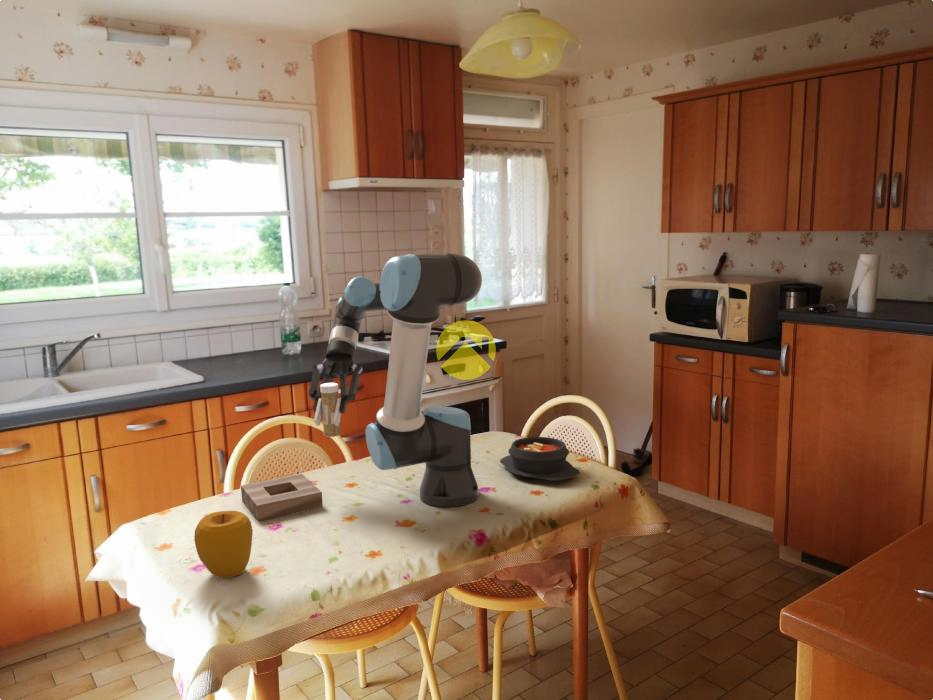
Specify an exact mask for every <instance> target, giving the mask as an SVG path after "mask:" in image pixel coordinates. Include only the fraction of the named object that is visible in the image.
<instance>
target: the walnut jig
mask: <svg viewBox="0 0 933 700" xmlns="http://www.w3.org/2000/svg"><path fill="white" fill-rule="evenodd" d="M240 494H241V501H242V502H243V504H244V505H245V507H246V508H247V509H248V510H249V512H250V513H251V514H252V516H253V517H254V518H255V520H256V521H257V522H261V521H263V522H264V521H266V520H270V519H275V518H280V516H281V517H285V516H289V514H290V515H293V513H294V514H297V512H299V513H303V512H307V510H308V511H312V510H316V509H315V508H317V509H320V508H319V507H322V508H323V506H324V505H323V493H322V491H321V490H320V489H319V488H318V487H317V486H316V485H315V484H313V483H312V481H310V480H309V479H308V477H306V476H305V475H304V474H303V473H300V474H299V473H298V474H293V475H288V476H283V477H278V478H273V479H268V480H263V481H256V482H252V483H248V484H241V485H240ZM311 509H312V510H311ZM302 511H303V512H302Z"/></svg>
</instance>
